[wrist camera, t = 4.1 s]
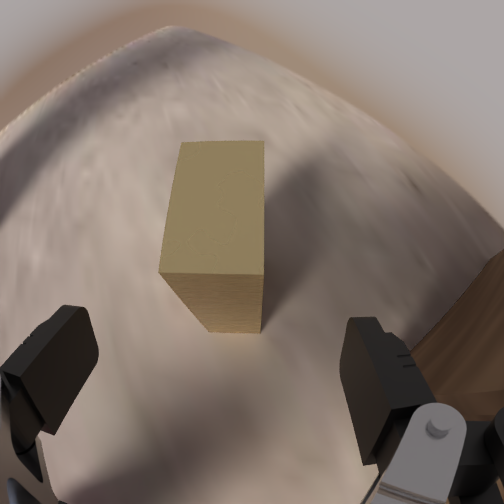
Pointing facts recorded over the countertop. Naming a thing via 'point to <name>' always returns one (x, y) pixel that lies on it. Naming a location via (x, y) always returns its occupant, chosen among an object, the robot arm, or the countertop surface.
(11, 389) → the robot arm
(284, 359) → the countertop surface
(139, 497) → the countertop surface
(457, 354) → the wooden box
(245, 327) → the beige rectangular block
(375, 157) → the countertop surface
